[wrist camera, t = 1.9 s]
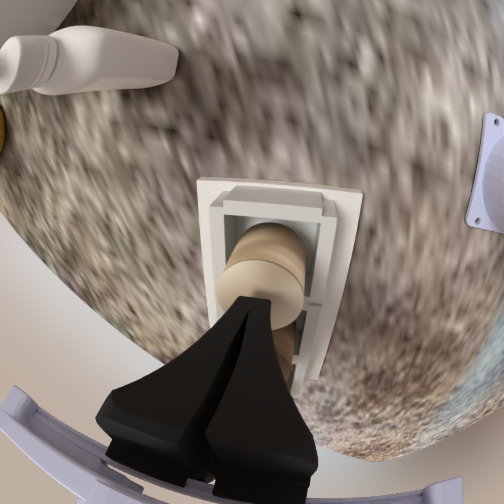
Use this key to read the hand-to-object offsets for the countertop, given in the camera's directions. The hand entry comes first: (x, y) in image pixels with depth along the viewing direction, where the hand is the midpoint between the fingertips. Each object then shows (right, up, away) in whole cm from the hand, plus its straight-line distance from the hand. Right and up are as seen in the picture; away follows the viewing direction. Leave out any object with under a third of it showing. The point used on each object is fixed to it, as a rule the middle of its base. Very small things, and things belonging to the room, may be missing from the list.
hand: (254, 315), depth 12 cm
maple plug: (+1, +2, +4) cm, 5 cm away
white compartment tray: (+1, -1, +9) cm, 10 cm away
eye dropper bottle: (-7, +15, +3) cm, 17 cm away
